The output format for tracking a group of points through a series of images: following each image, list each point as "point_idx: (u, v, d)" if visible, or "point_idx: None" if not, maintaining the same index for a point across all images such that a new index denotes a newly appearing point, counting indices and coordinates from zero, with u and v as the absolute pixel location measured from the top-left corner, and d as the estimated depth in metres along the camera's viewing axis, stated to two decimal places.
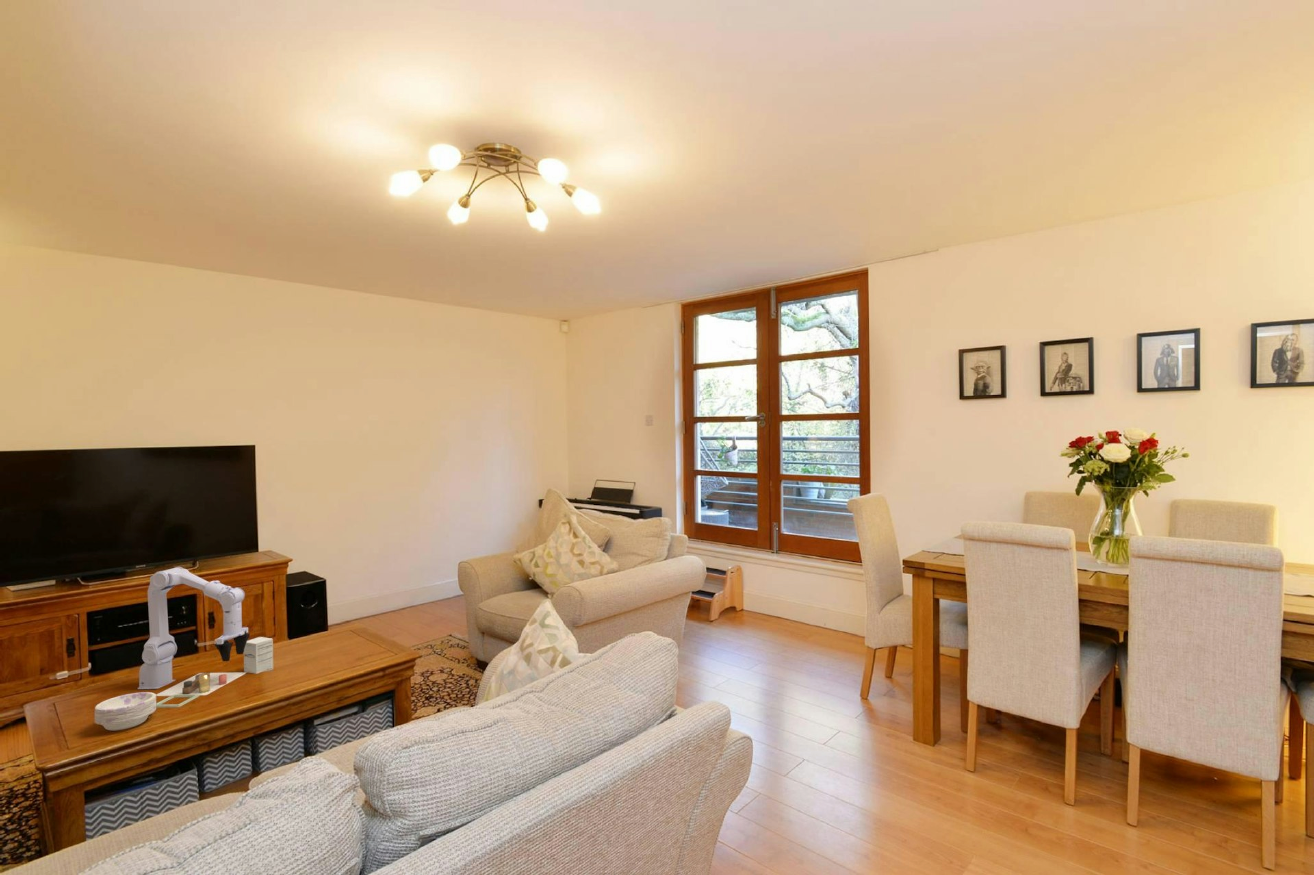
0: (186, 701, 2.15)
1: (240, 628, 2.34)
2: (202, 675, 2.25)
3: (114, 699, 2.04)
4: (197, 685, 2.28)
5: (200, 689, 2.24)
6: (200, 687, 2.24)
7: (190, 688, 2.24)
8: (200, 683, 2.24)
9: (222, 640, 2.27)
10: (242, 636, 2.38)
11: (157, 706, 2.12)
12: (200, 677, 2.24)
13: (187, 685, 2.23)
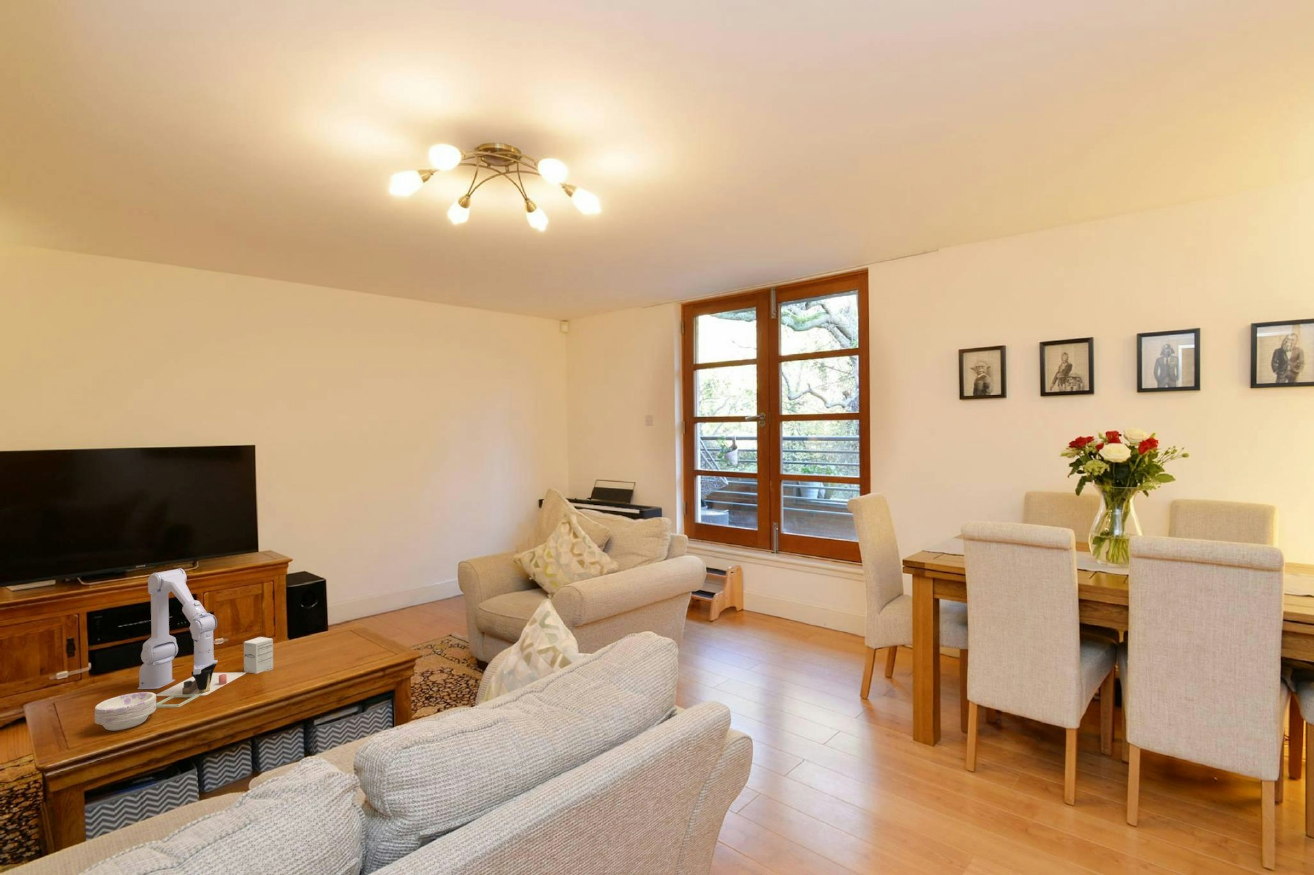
0: (186, 701, 2.15)
1: (213, 656, 2.27)
2: None
3: (114, 699, 2.04)
4: None
5: None
6: None
7: (190, 688, 2.24)
8: None
9: (200, 670, 2.19)
10: (209, 667, 2.27)
11: (157, 706, 2.12)
12: None
13: (187, 685, 2.23)
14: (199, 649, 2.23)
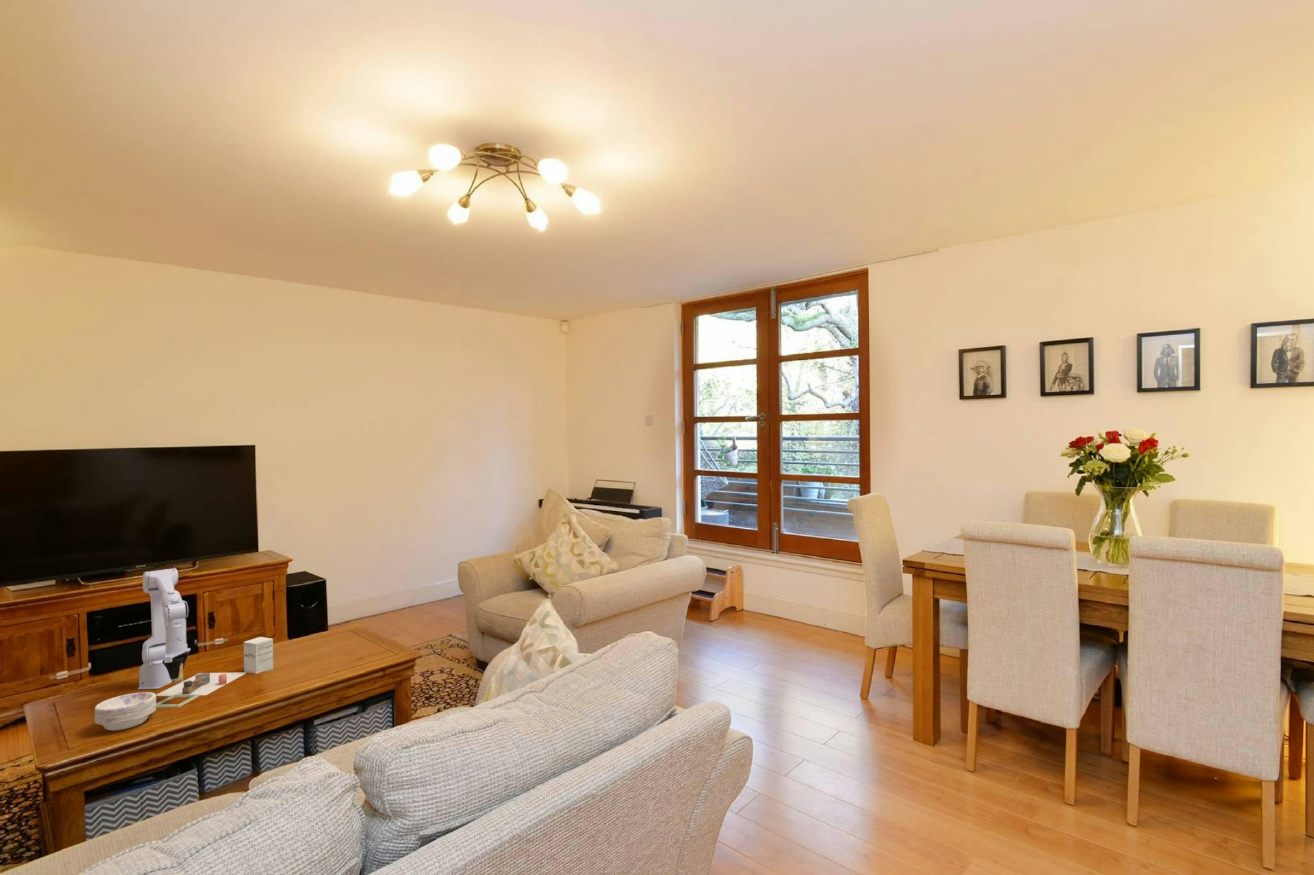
0: (186, 701, 2.15)
1: (185, 644, 2.18)
2: None
3: (114, 699, 2.04)
4: (197, 685, 2.28)
5: (173, 679, 2.15)
6: None
7: (190, 688, 2.24)
8: None
9: (171, 658, 2.11)
10: (182, 655, 2.19)
11: (157, 706, 2.12)
12: None
13: (187, 685, 2.23)
14: (168, 637, 2.14)
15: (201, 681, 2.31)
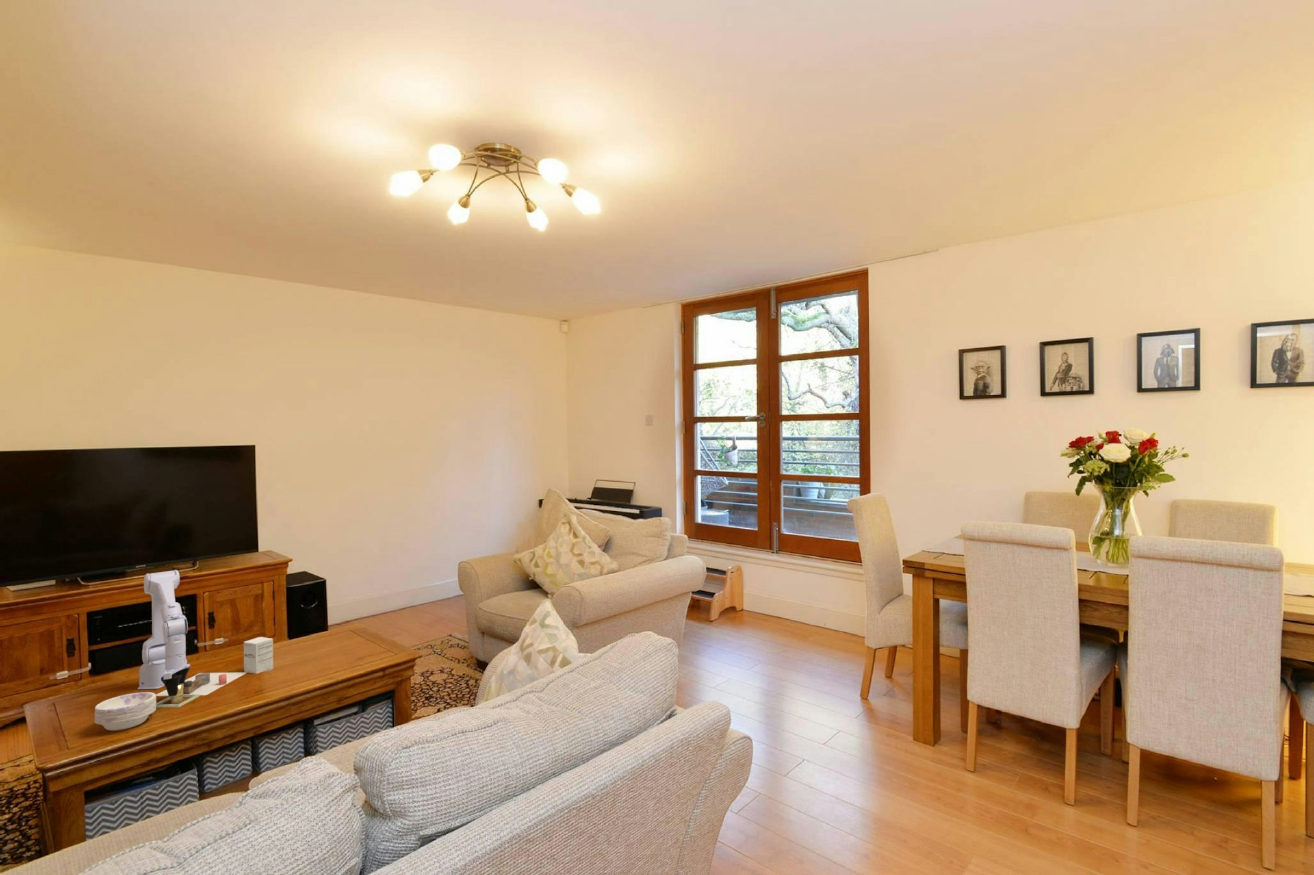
0: (186, 701, 2.15)
1: (185, 660, 2.18)
2: None
3: (114, 699, 2.04)
4: (197, 685, 2.28)
5: (173, 699, 2.15)
6: (173, 697, 2.15)
7: (190, 688, 2.24)
8: None
9: (171, 674, 2.11)
10: (182, 670, 2.20)
11: (157, 706, 2.12)
12: None
13: (187, 685, 2.23)
14: (167, 653, 2.14)
15: (201, 681, 2.31)
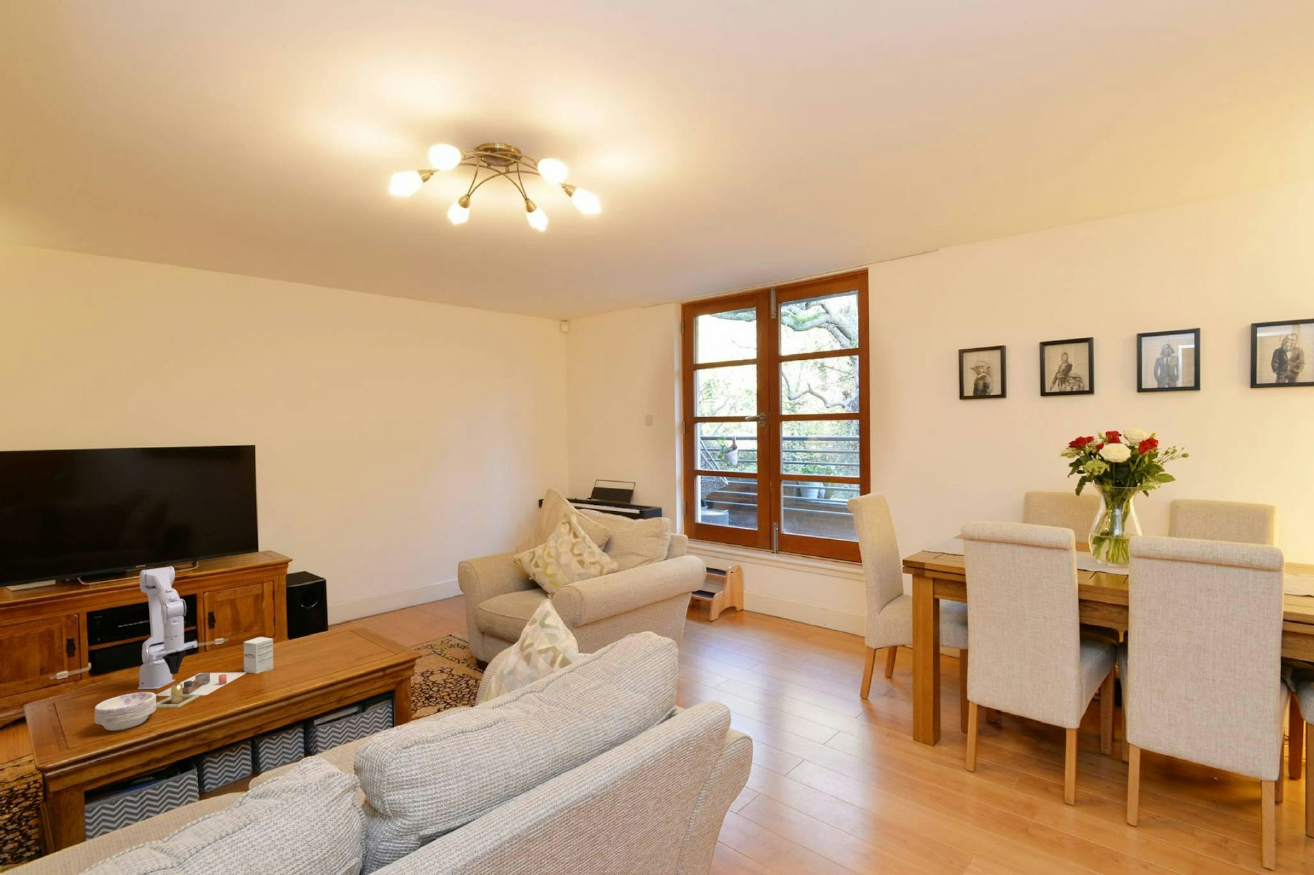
0: (186, 701, 2.15)
1: (179, 643, 2.20)
2: (175, 685, 2.16)
3: (114, 699, 2.04)
4: (197, 685, 2.28)
5: (172, 700, 2.15)
6: (173, 698, 2.15)
7: (190, 688, 2.24)
8: (173, 694, 2.15)
9: (154, 656, 2.14)
10: (176, 654, 2.21)
11: (157, 706, 2.12)
12: (173, 687, 2.15)
13: (187, 685, 2.23)
14: (166, 634, 2.18)
15: (201, 681, 2.31)
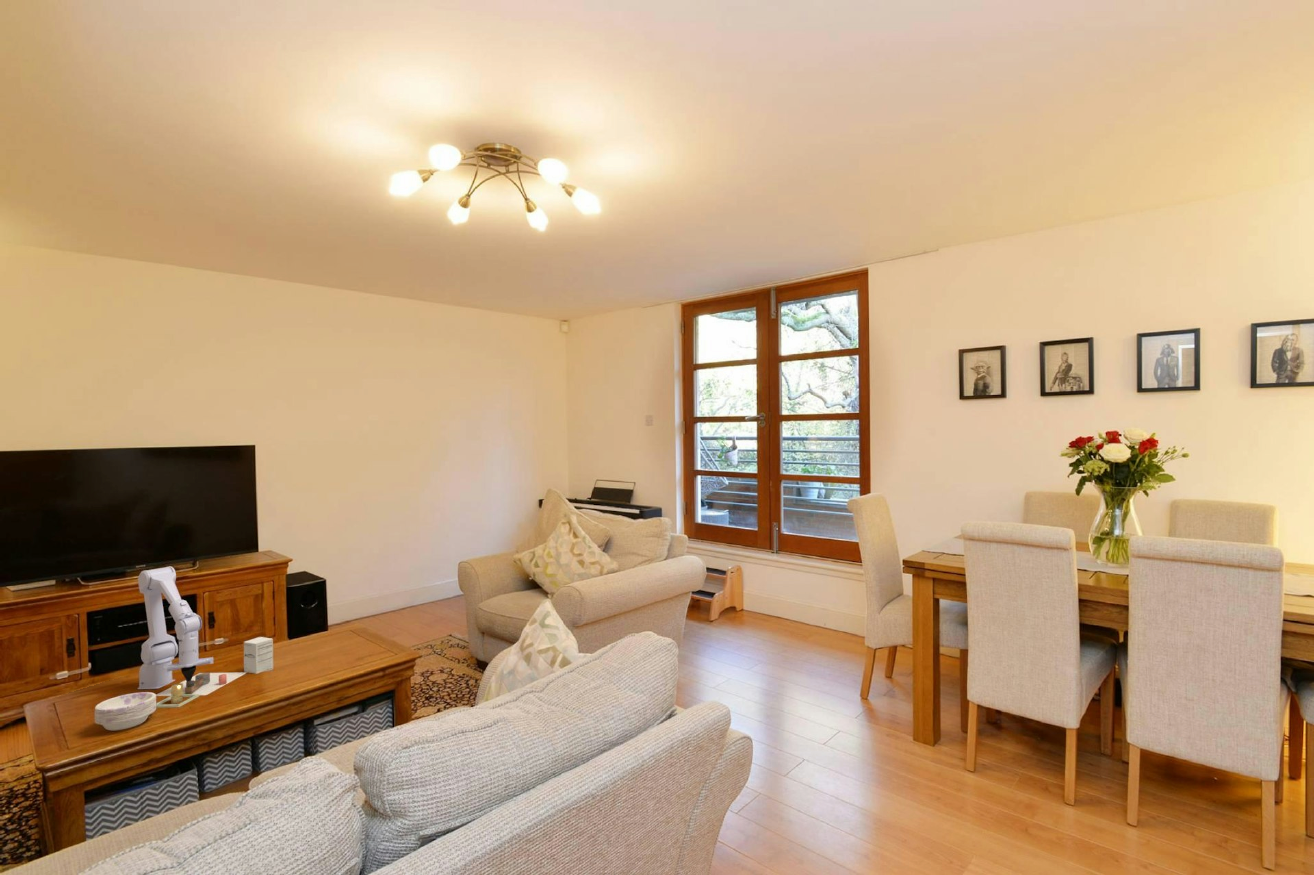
0: (186, 701, 2.15)
1: (190, 659, 2.25)
2: (175, 685, 2.16)
3: (114, 699, 2.04)
4: (198, 685, 2.28)
5: (172, 700, 2.15)
6: (173, 698, 2.15)
7: (193, 688, 2.24)
8: (173, 693, 2.15)
9: (165, 669, 2.22)
10: None
11: (157, 706, 2.12)
12: (173, 687, 2.15)
13: (190, 685, 2.23)
14: (183, 649, 2.24)
15: (202, 681, 2.31)
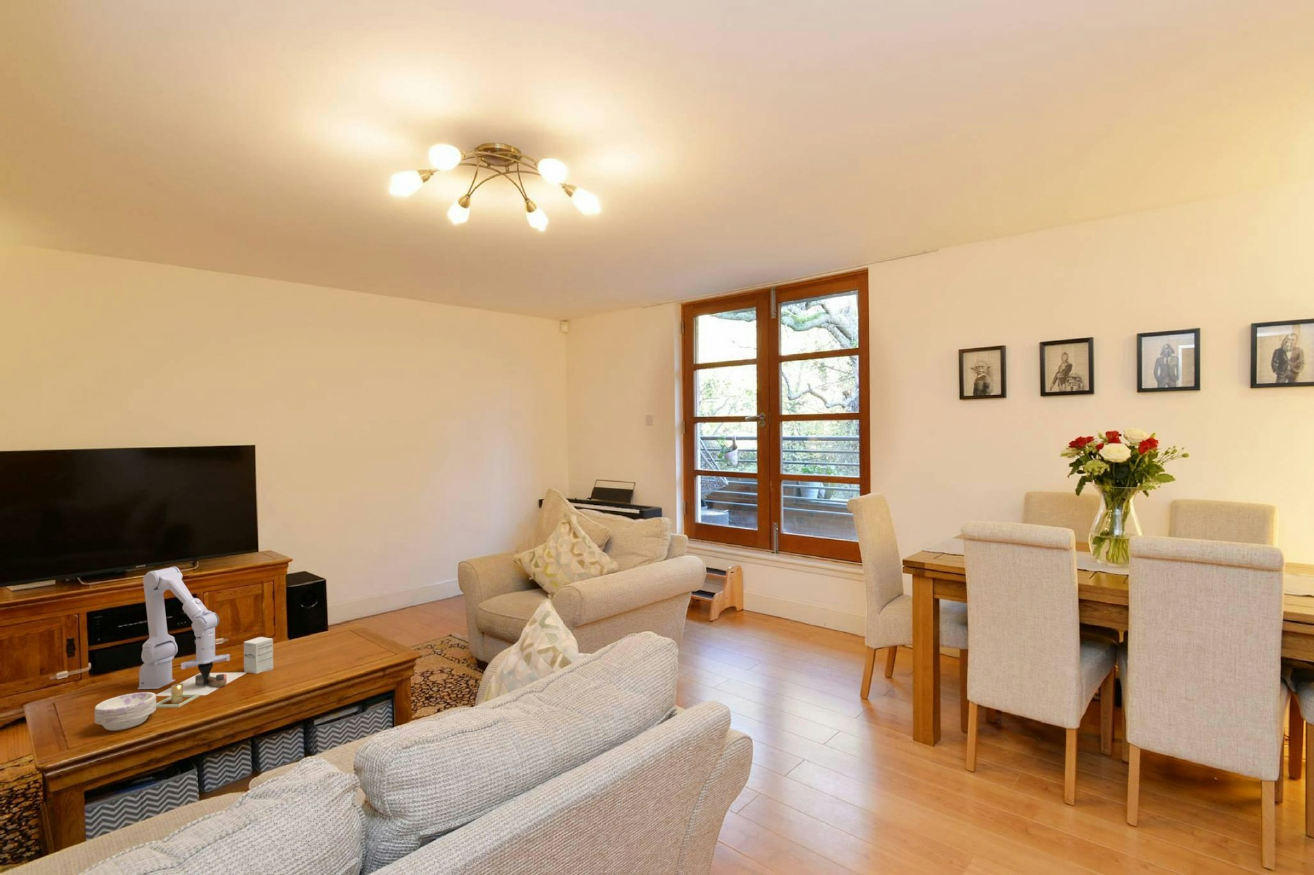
0: (186, 701, 2.15)
1: (207, 656, 2.28)
2: (175, 685, 2.16)
3: (114, 699, 2.04)
4: None
5: (172, 700, 2.15)
6: (172, 698, 2.15)
7: None
8: (172, 694, 2.15)
9: (182, 665, 2.25)
10: None
11: (157, 706, 2.12)
12: (173, 687, 2.15)
13: (223, 677, 2.30)
14: (202, 646, 2.27)
15: None
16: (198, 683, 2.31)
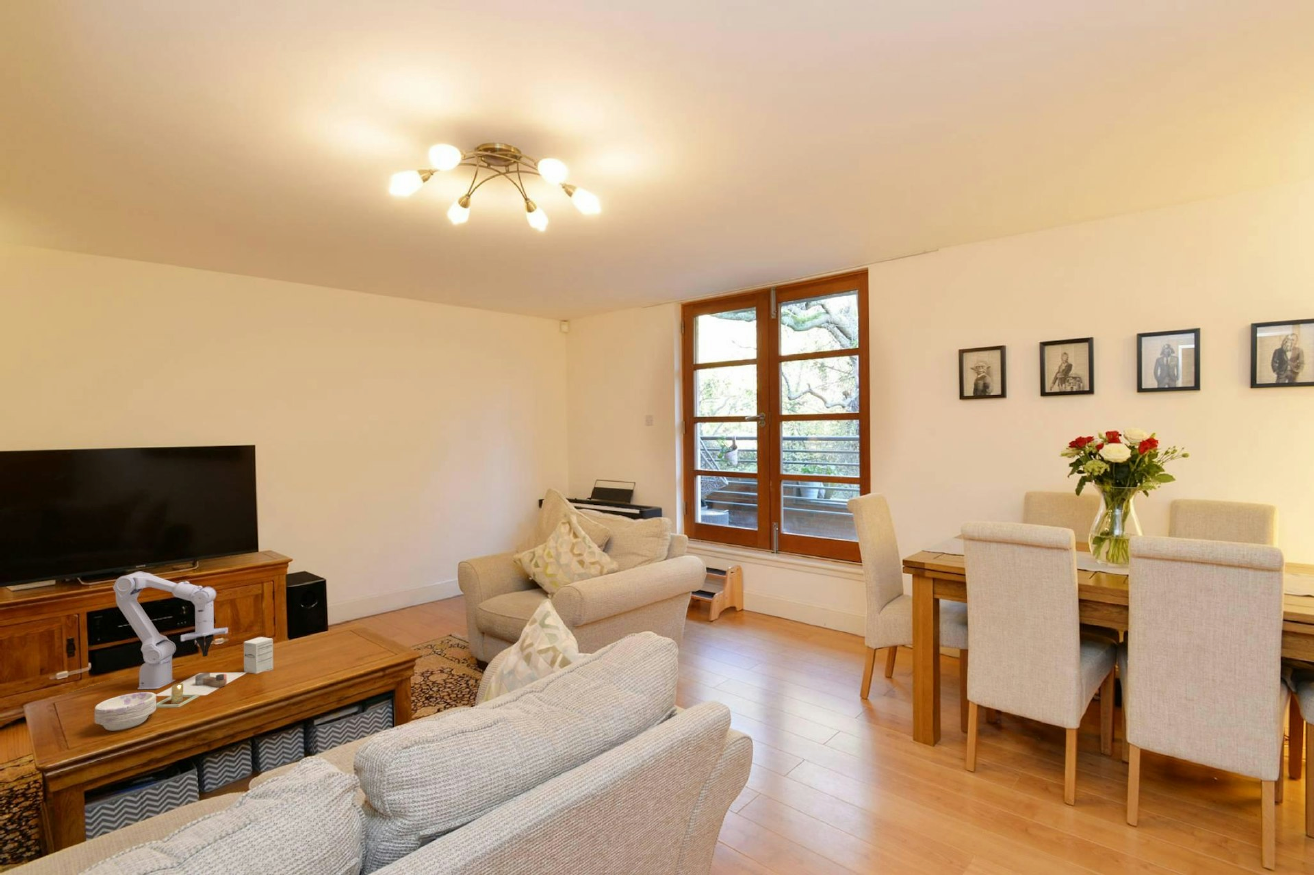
0: (186, 701, 2.15)
1: (206, 629, 2.35)
2: (175, 685, 2.16)
3: (114, 699, 2.04)
4: None
5: (172, 699, 2.15)
6: (172, 698, 2.15)
7: None
8: (172, 693, 2.15)
9: (182, 637, 2.32)
10: (205, 638, 2.37)
11: (157, 706, 2.12)
12: (173, 687, 2.15)
13: (223, 677, 2.30)
14: (205, 618, 2.35)
15: None
16: (198, 683, 2.31)
